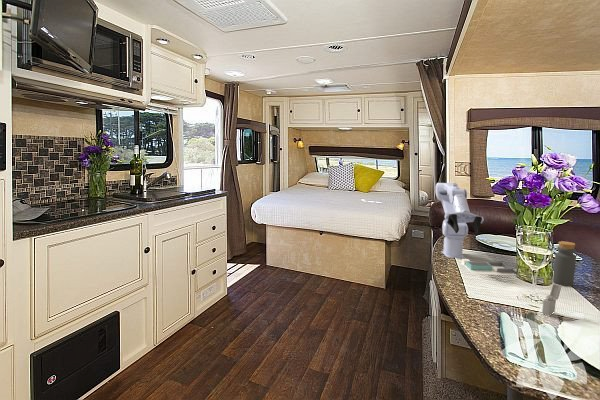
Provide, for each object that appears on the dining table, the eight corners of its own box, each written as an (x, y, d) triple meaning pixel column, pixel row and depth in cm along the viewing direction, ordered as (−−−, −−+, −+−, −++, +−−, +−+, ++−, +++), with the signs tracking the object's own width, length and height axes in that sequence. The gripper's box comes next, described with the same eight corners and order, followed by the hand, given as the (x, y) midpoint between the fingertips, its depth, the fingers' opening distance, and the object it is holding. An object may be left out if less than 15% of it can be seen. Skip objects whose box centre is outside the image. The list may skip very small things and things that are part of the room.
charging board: (472, 275, 127) (472, 269, 127) (459, 263, 141) (460, 258, 141) (516, 276, 125) (517, 271, 125) (499, 264, 139) (499, 259, 139)
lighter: (548, 316, 95) (551, 289, 94) (541, 313, 96) (544, 287, 95) (559, 310, 98) (561, 284, 97) (552, 307, 100) (554, 282, 99)
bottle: (577, 287, 115) (581, 245, 113) (558, 285, 116) (562, 244, 114) (567, 280, 121) (571, 241, 119) (549, 279, 122) (553, 240, 120)
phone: (470, 269, 131) (471, 265, 131) (466, 265, 136) (466, 261, 136) (492, 270, 130) (492, 266, 130) (486, 266, 135) (486, 262, 135)
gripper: (446, 200, 138) (451, 223, 128) (482, 204, 136) (490, 227, 126) (441, 212, 142) (446, 235, 132) (477, 216, 140) (484, 240, 130)
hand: (467, 232), depth 129 cm, fingers open, 7 cm apart
